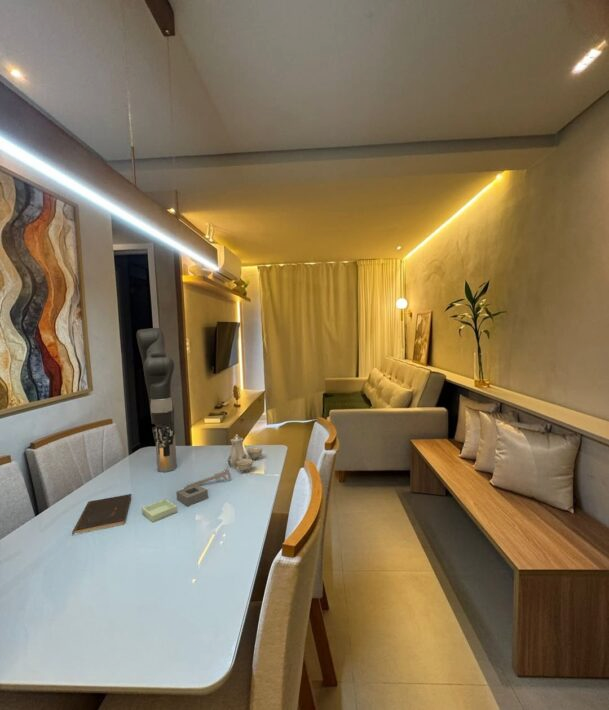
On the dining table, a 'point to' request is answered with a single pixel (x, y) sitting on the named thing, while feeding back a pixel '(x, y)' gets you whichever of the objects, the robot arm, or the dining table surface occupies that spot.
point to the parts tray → (159, 510)
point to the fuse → (163, 458)
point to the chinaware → (242, 455)
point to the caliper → (212, 478)
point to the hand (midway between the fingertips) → (164, 454)
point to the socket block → (192, 495)
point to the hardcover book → (103, 514)
